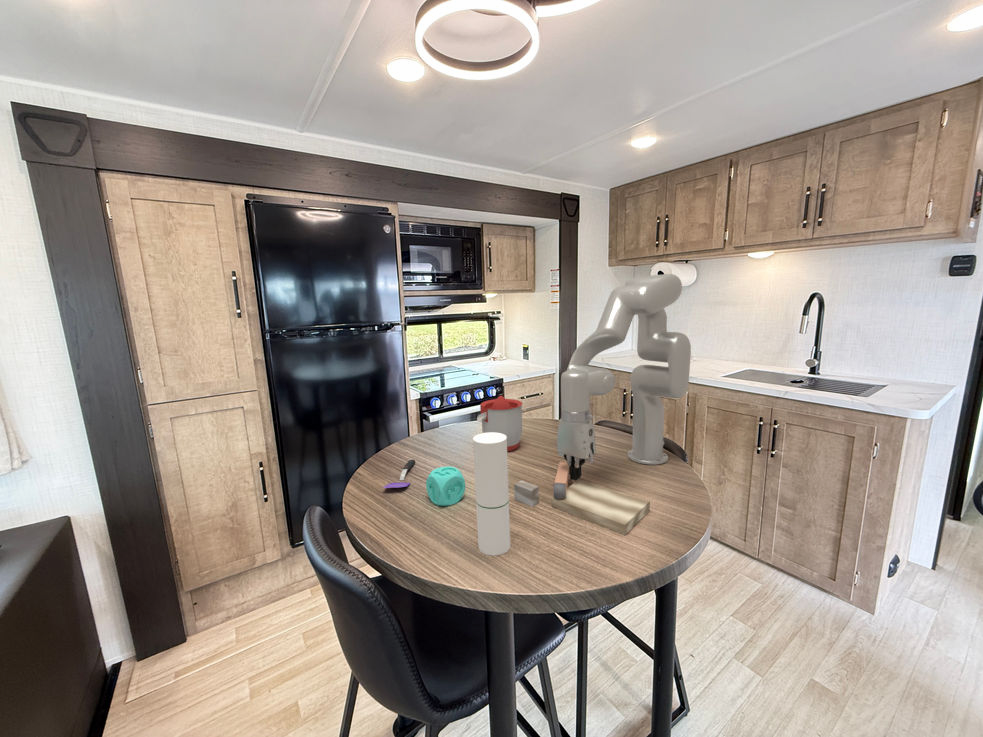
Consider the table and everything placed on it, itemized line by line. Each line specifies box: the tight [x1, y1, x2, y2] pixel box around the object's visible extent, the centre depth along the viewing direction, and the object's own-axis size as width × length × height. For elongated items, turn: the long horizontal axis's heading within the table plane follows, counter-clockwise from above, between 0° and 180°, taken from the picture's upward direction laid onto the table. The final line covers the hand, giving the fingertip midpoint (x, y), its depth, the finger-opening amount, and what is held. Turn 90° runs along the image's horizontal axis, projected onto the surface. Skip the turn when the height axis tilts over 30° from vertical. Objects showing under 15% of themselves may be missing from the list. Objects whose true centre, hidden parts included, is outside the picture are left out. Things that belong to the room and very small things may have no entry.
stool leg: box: [552, 461, 570, 499], centre depth 108 cm, size 17×3×3 cm, turn 165°
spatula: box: [382, 459, 416, 489], centre depth 125 cm, size 24×7×2 cm, turn 178°
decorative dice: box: [425, 466, 466, 507], centre depth 108 cm, size 8×8×8 cm
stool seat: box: [513, 479, 651, 536], centre depth 102 cm, size 17×30×4 cm, turn 46°
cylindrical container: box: [472, 432, 511, 557], centre depth 85 cm, size 7×7×25 cm
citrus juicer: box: [476, 395, 523, 452], centre depth 145 cm, size 16×17×20 cm
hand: (575, 478), depth 110 cm, fingers closed
